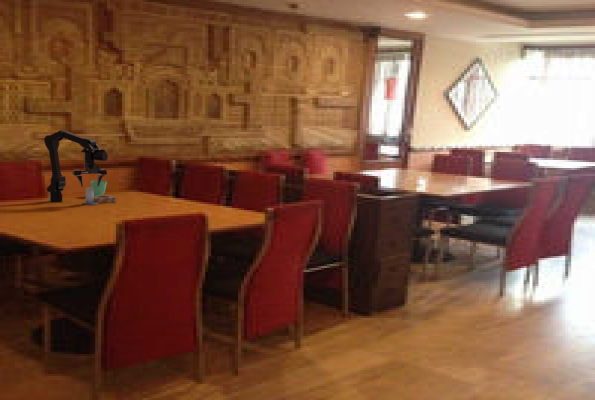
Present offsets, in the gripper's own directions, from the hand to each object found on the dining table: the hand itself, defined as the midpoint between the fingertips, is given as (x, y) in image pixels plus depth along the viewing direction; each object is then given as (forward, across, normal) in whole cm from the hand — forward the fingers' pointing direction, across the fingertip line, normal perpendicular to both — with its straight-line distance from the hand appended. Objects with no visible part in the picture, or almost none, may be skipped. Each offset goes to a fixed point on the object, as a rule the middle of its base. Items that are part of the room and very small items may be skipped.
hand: (90, 186), depth 370 cm
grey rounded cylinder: (+10, 0, 0) cm, 10 cm away
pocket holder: (+10, +10, +8) cm, 16 cm away
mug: (+10, +14, +33) cm, 37 cm away
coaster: (+10, 0, 0) cm, 10 cm away
